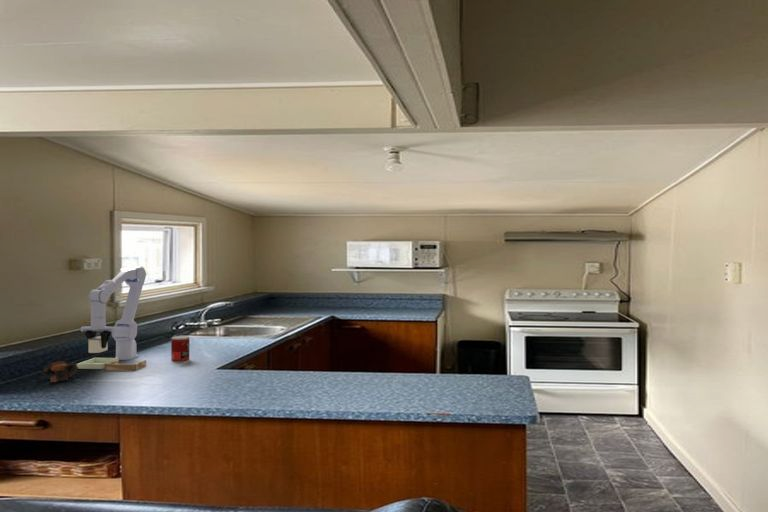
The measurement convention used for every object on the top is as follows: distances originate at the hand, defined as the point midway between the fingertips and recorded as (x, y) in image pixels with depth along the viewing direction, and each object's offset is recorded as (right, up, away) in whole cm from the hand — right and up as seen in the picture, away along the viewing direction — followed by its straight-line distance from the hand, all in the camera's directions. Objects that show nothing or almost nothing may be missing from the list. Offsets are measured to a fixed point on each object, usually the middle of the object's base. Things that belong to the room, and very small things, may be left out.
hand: (98, 347), depth 225 cm
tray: (0, -8, 0) cm, 8 cm away
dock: (+14, -8, -4) cm, 17 cm away
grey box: (0, -2, 0) cm, 2 cm away
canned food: (+31, -9, +13) cm, 35 cm away
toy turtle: (-2, -9, -23) cm, 25 cm away
